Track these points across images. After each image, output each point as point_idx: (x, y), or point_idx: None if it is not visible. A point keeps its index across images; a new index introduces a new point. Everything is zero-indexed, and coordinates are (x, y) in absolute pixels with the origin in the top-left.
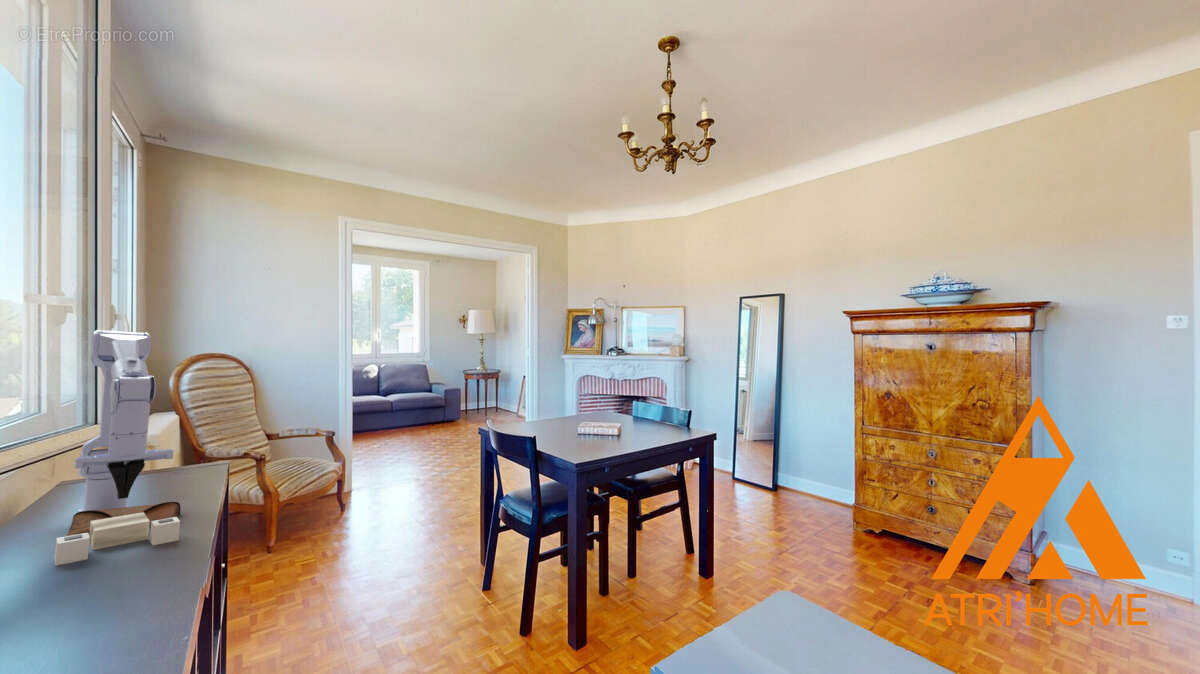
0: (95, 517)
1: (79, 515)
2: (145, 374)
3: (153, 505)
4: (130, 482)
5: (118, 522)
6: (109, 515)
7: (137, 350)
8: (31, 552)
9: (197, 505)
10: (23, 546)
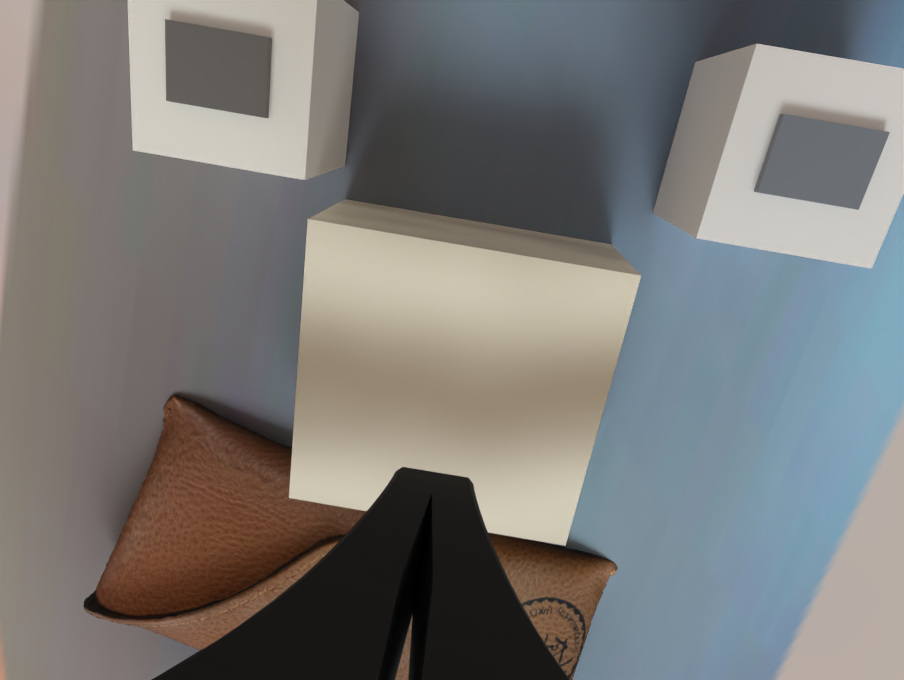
0: None
1: None
2: None
3: (211, 615)
4: (356, 567)
5: (466, 371)
6: None
7: None
8: (793, 461)
9: (27, 637)
10: (768, 585)
